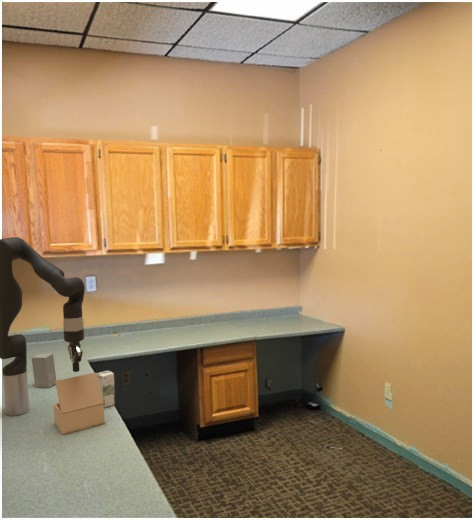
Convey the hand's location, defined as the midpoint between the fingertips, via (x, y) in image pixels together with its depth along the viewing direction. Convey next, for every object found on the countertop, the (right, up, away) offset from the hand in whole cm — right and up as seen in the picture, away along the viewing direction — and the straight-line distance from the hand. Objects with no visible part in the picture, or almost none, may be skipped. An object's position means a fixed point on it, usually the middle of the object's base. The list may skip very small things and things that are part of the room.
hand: (76, 371), depth 182 cm
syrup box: (+6, -20, +20) cm, 29 cm away
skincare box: (-32, -19, +47) cm, 60 cm away
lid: (+2, -8, -2) cm, 8 cm away
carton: (+1, -21, +1) cm, 21 cm away
